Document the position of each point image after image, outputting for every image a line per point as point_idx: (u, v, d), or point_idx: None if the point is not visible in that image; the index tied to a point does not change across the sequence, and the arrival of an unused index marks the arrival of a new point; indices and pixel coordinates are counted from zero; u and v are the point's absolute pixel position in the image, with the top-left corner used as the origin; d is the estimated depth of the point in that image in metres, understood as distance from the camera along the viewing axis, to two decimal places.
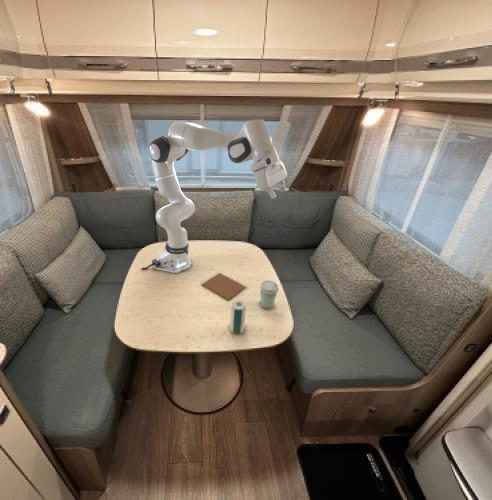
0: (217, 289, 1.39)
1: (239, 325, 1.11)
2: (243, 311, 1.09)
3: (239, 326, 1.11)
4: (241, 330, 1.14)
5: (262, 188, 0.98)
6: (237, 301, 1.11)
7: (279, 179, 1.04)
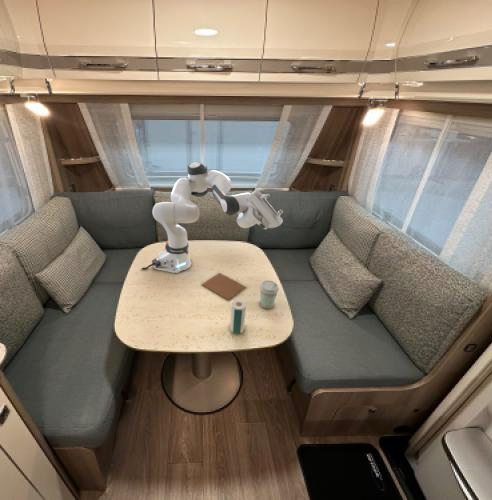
0: (217, 289, 1.39)
1: (239, 325, 1.11)
2: (243, 311, 1.09)
3: (239, 326, 1.11)
4: (241, 330, 1.14)
5: (281, 222, 1.26)
6: (237, 301, 1.11)
7: (264, 208, 1.24)
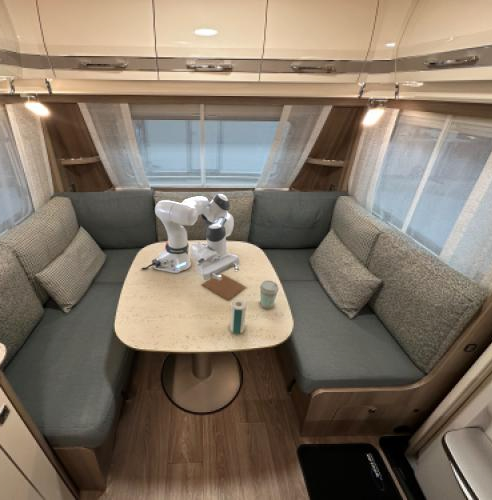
0: (217, 289, 1.39)
1: (239, 325, 1.11)
2: (243, 311, 1.09)
3: (239, 326, 1.11)
4: (241, 330, 1.14)
5: (204, 278, 1.16)
6: (237, 301, 1.11)
7: (223, 264, 1.20)
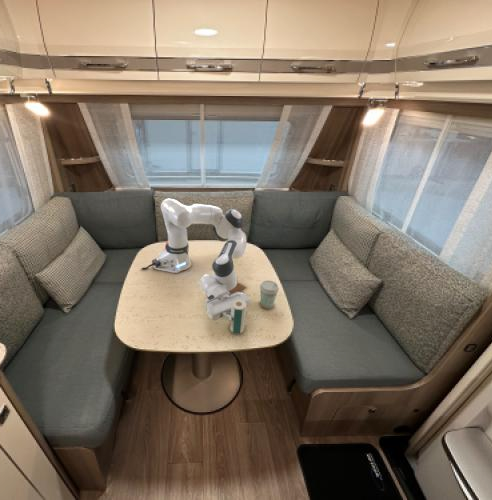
0: None
1: (239, 325, 1.11)
2: (243, 311, 1.09)
3: (239, 326, 1.11)
4: (241, 330, 1.14)
5: (212, 318, 1.12)
6: (237, 301, 1.11)
7: None
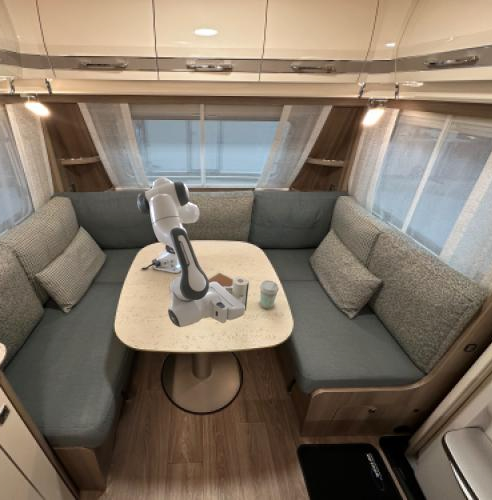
0: None
1: None
2: None
3: None
4: None
5: (244, 312, 0.98)
6: (236, 281, 1.05)
7: (226, 291, 1.05)
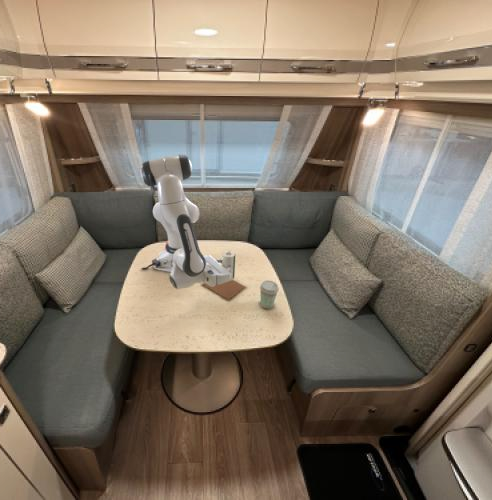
0: (217, 289, 1.39)
1: None
2: None
3: None
4: None
5: (230, 278, 1.21)
6: (225, 254, 1.28)
7: (217, 262, 1.28)
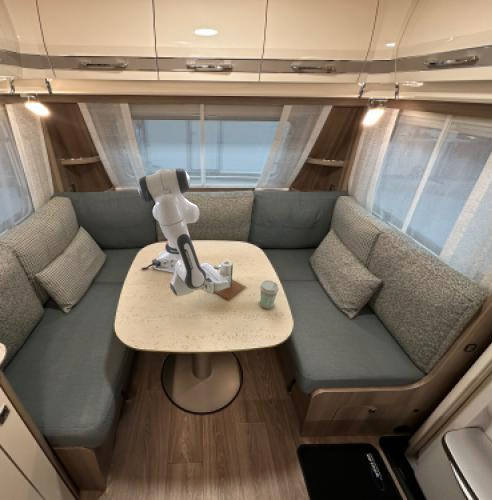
0: None
1: None
2: None
3: None
4: None
5: (227, 285, 1.29)
6: (223, 263, 1.35)
7: (215, 270, 1.36)
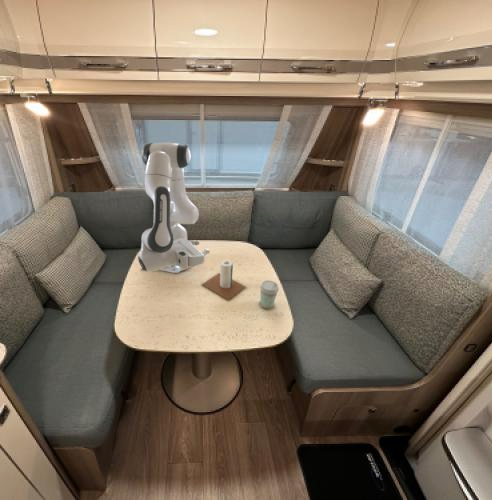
0: (217, 289, 1.39)
1: None
2: None
3: None
4: None
5: (204, 260, 1.14)
6: (223, 263, 1.35)
7: (191, 245, 1.21)
